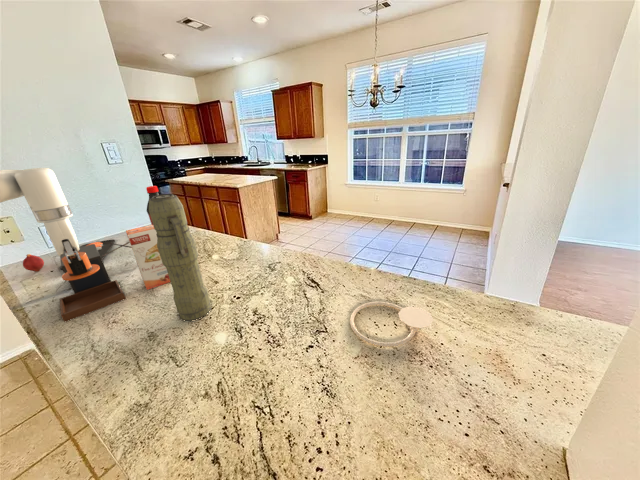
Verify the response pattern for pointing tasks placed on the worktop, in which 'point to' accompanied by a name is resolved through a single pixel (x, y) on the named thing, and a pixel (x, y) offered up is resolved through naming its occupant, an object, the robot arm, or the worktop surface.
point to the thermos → (179, 256)
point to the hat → (90, 270)
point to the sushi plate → (104, 247)
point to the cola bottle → (152, 192)
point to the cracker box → (148, 256)
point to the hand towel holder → (408, 315)
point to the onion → (33, 263)
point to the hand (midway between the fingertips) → (79, 269)
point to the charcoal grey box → (91, 280)
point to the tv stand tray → (90, 300)
